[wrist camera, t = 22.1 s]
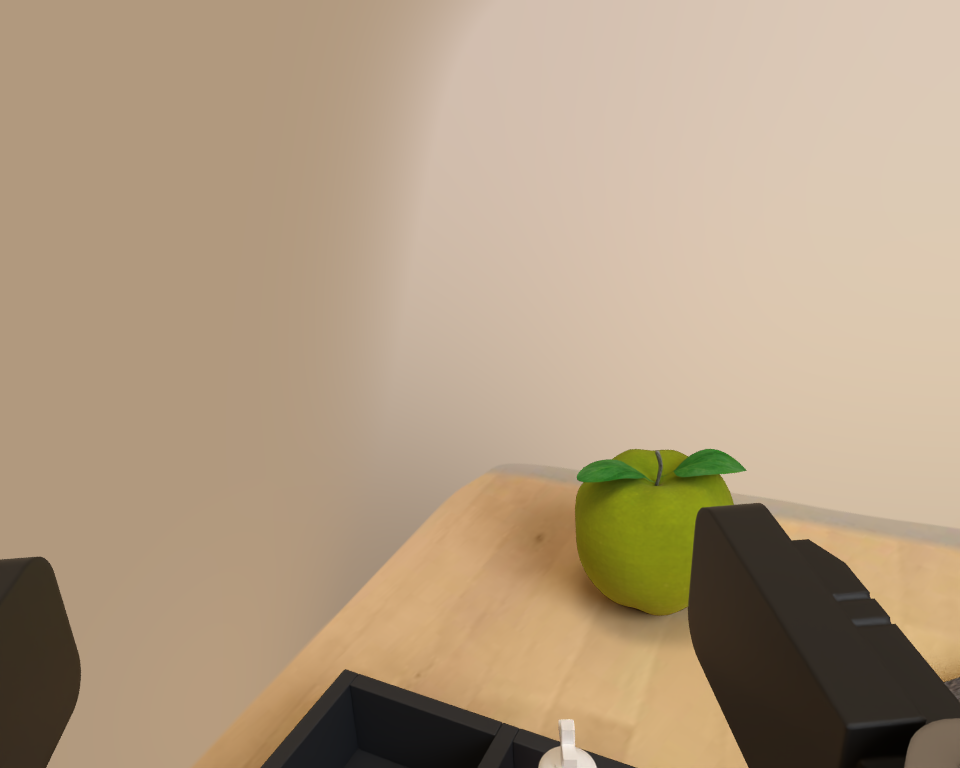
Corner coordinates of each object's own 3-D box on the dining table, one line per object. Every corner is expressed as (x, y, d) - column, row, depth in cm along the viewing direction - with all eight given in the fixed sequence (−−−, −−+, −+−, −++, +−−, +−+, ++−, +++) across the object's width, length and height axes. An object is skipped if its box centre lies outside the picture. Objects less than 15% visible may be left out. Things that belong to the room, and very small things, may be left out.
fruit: (744, 651, 45) (761, 494, 41) (573, 643, 46) (574, 490, 42) (718, 553, 53) (731, 415, 49) (575, 548, 54) (576, 413, 50)
